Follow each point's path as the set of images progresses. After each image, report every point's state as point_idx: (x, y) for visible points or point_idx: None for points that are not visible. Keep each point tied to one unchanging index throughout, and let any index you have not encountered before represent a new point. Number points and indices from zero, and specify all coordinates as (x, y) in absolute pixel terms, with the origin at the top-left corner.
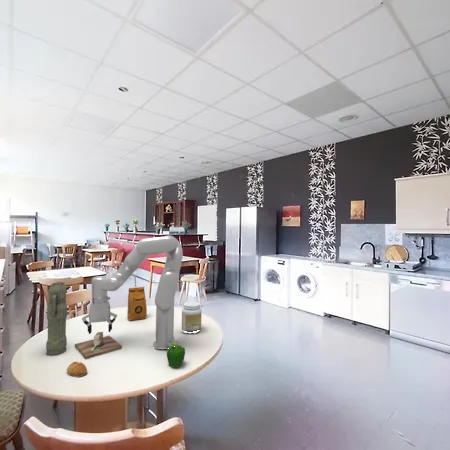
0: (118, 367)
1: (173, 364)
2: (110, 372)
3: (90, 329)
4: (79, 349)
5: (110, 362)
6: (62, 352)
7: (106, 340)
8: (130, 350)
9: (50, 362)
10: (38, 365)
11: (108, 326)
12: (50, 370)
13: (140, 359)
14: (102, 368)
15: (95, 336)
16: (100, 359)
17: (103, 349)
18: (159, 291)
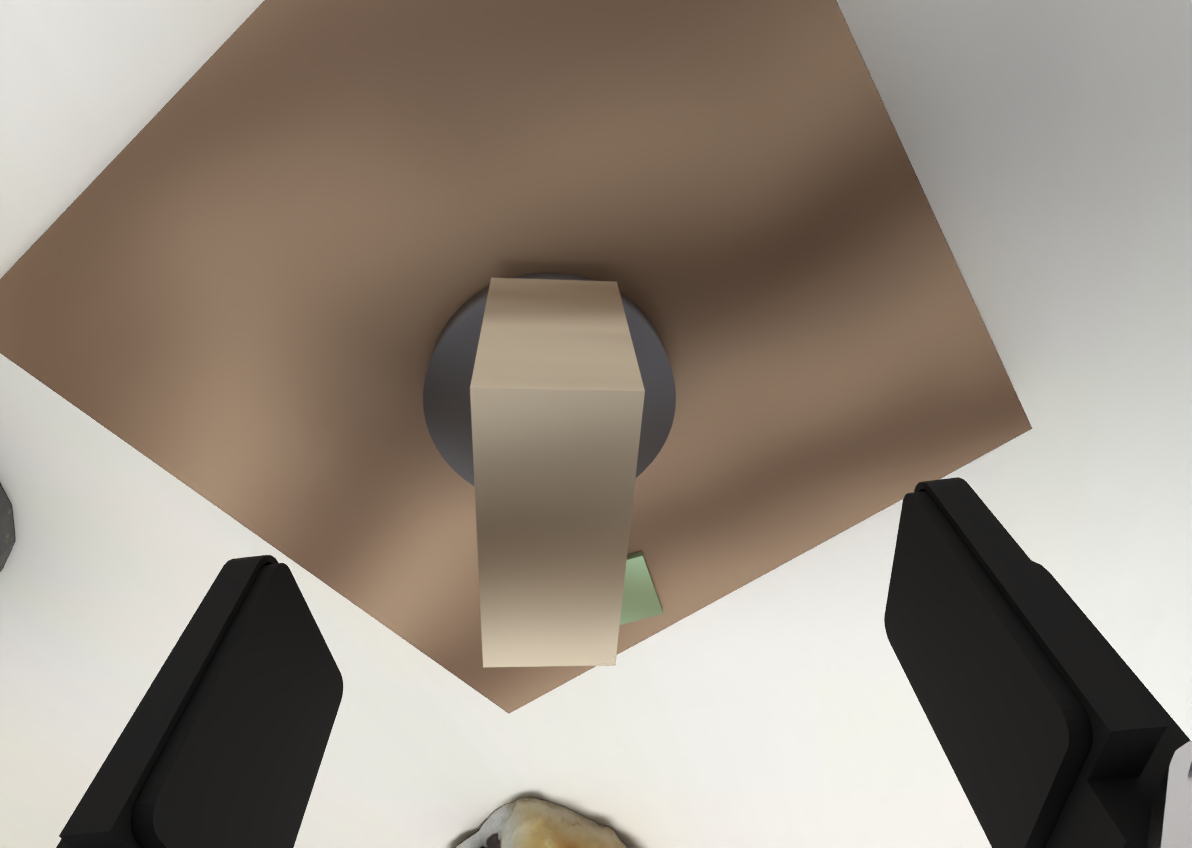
0: (929, 786)
1: None
2: (857, 839)
3: (292, 791)
4: (271, 543)
5: (841, 722)
6: (3, 551)
7: (665, 127)
8: (1127, 464)
9: (91, 732)
10: (7, 779)
11: (978, 818)
12: None
13: (1188, 671)
14: (773, 801)
15: (526, 659)
16: (708, 674)
17: (709, 551)
18: None
